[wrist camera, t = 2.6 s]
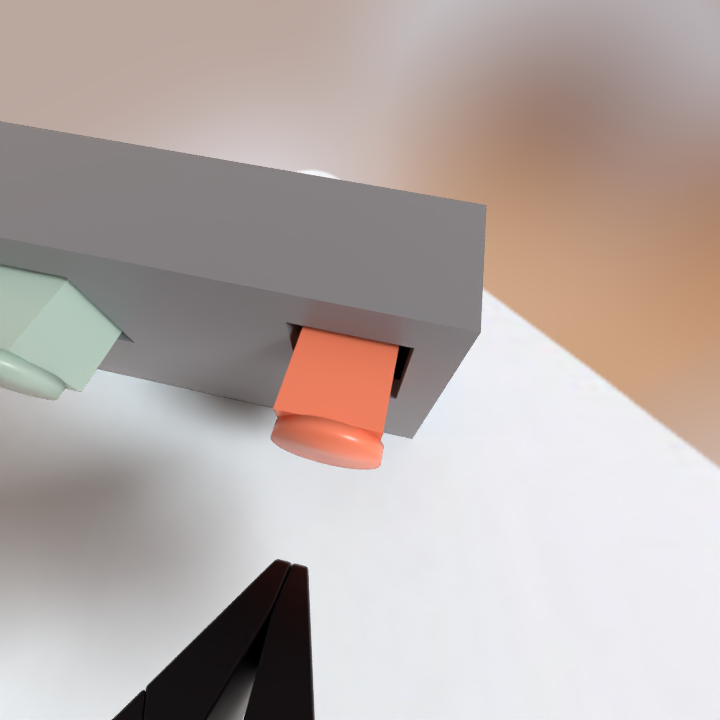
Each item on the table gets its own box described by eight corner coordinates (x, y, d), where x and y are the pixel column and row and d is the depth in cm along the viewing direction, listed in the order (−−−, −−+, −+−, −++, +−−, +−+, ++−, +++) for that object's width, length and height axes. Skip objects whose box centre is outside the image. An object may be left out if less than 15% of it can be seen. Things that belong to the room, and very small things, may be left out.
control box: (412, 438, 20) (480, 332, 10) (88, 366, 21) (-139, 209, 11) (423, 354, 23) (486, 205, 13) (137, 295, 24) (-8, 120, 14)
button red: (375, 475, 14) (386, 451, 10) (280, 453, 14) (259, 422, 10) (393, 375, 16) (408, 328, 12) (311, 358, 16) (302, 307, 12)
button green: (79, 407, 14) (-5, 363, 11) (-5, 387, 15) (-113, 339, 11) (136, 321, 17) (81, 262, 13) (62, 306, 17) (-12, 244, 13)
